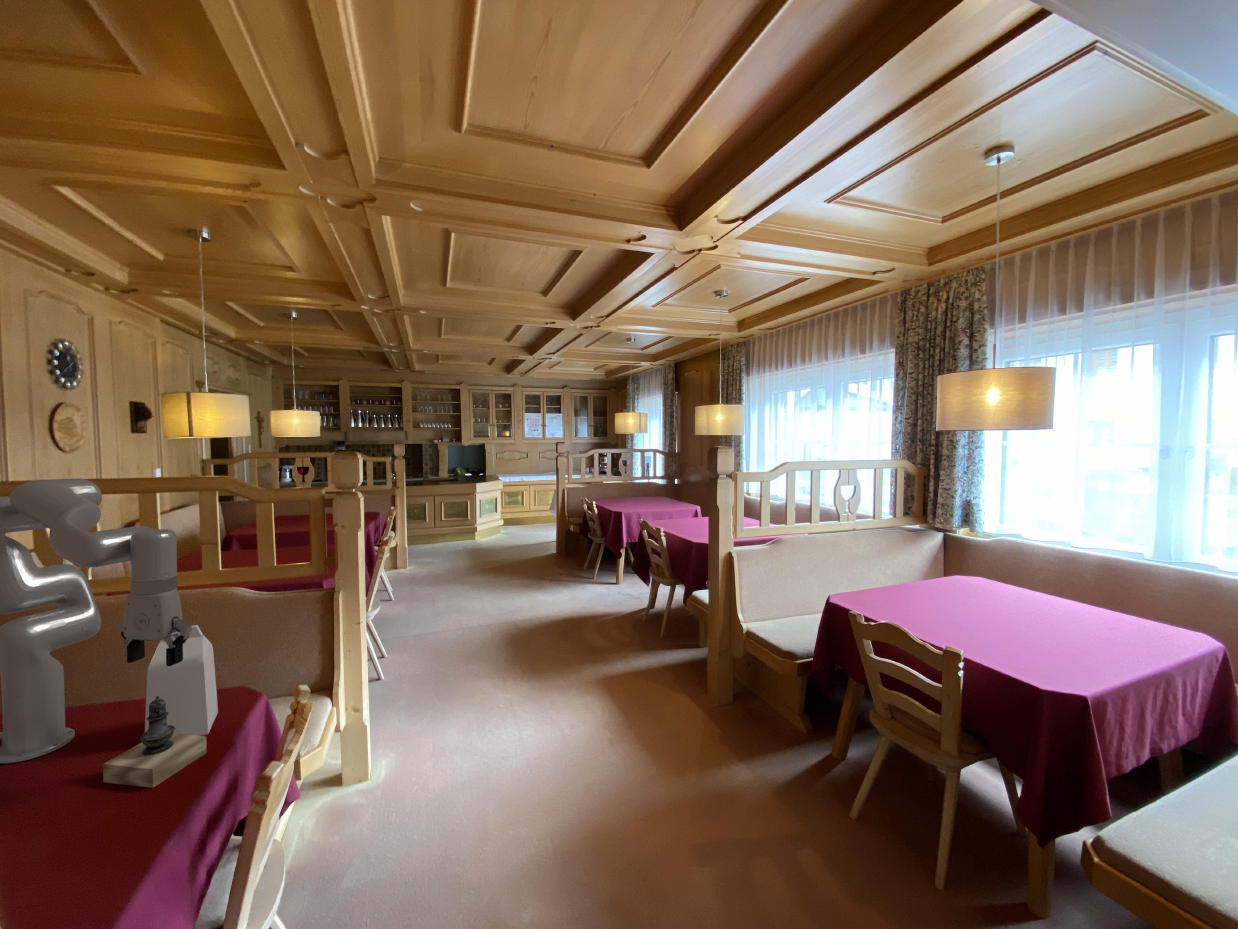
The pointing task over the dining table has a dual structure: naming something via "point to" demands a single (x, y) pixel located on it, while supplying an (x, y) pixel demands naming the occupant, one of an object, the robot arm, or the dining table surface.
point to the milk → (185, 685)
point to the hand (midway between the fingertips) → (155, 662)
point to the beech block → (154, 762)
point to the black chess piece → (157, 729)
